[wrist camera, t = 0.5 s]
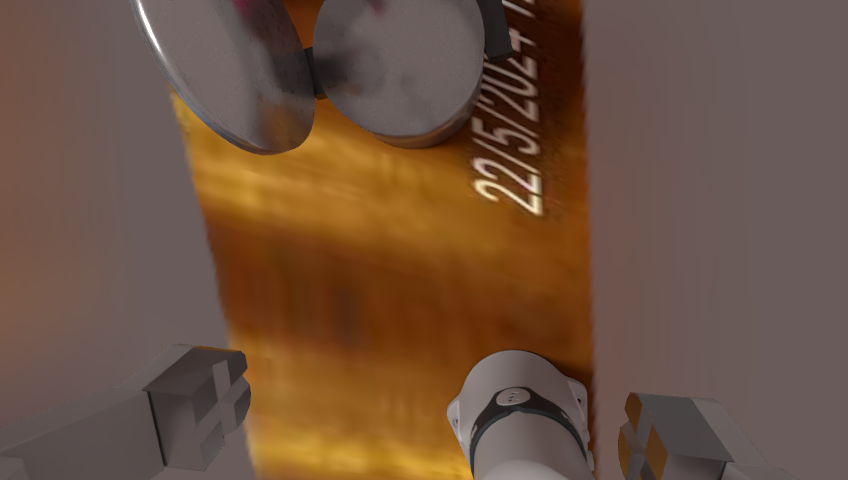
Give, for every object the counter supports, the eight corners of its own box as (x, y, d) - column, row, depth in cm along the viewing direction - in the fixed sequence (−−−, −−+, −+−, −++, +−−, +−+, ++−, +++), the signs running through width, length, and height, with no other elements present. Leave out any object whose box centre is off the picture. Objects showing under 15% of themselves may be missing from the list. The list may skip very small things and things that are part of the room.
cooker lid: (183, 137, 26) (152, 148, 27) (331, 158, 45) (310, 164, 45) (103, -167, 26) (74, -146, 26) (288, -20, 44) (267, -9, 44)
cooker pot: (514, 124, 54) (525, 101, 42) (357, 165, 56) (326, 154, 45) (483, -15, 53) (486, -80, 41) (325, 34, 56) (284, -13, 44)
